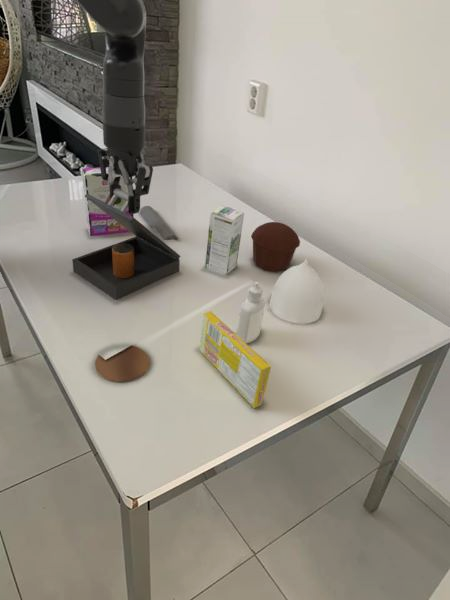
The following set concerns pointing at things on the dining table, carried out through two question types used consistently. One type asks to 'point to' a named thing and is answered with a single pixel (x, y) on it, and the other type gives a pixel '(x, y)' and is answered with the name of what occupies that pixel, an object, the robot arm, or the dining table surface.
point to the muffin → (274, 246)
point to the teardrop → (298, 295)
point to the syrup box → (224, 239)
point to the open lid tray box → (147, 268)
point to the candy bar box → (101, 190)
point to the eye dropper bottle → (251, 315)
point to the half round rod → (157, 223)
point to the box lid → (130, 220)
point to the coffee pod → (123, 260)
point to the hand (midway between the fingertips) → (124, 207)
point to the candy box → (234, 359)
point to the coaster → (123, 365)
